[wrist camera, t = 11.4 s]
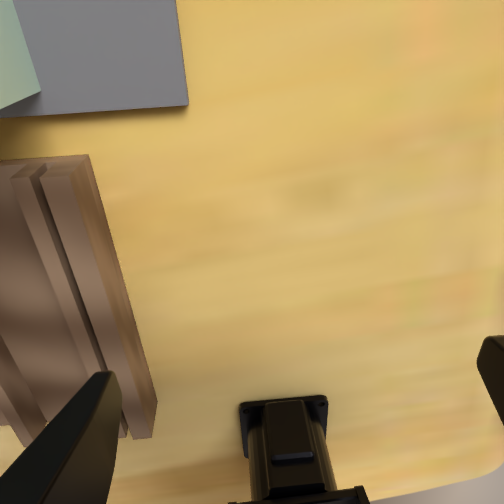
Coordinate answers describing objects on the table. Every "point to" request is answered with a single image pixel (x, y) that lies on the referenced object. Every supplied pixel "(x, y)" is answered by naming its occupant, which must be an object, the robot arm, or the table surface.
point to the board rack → (63, 299)
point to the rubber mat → (101, 56)
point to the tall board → (14, 59)
